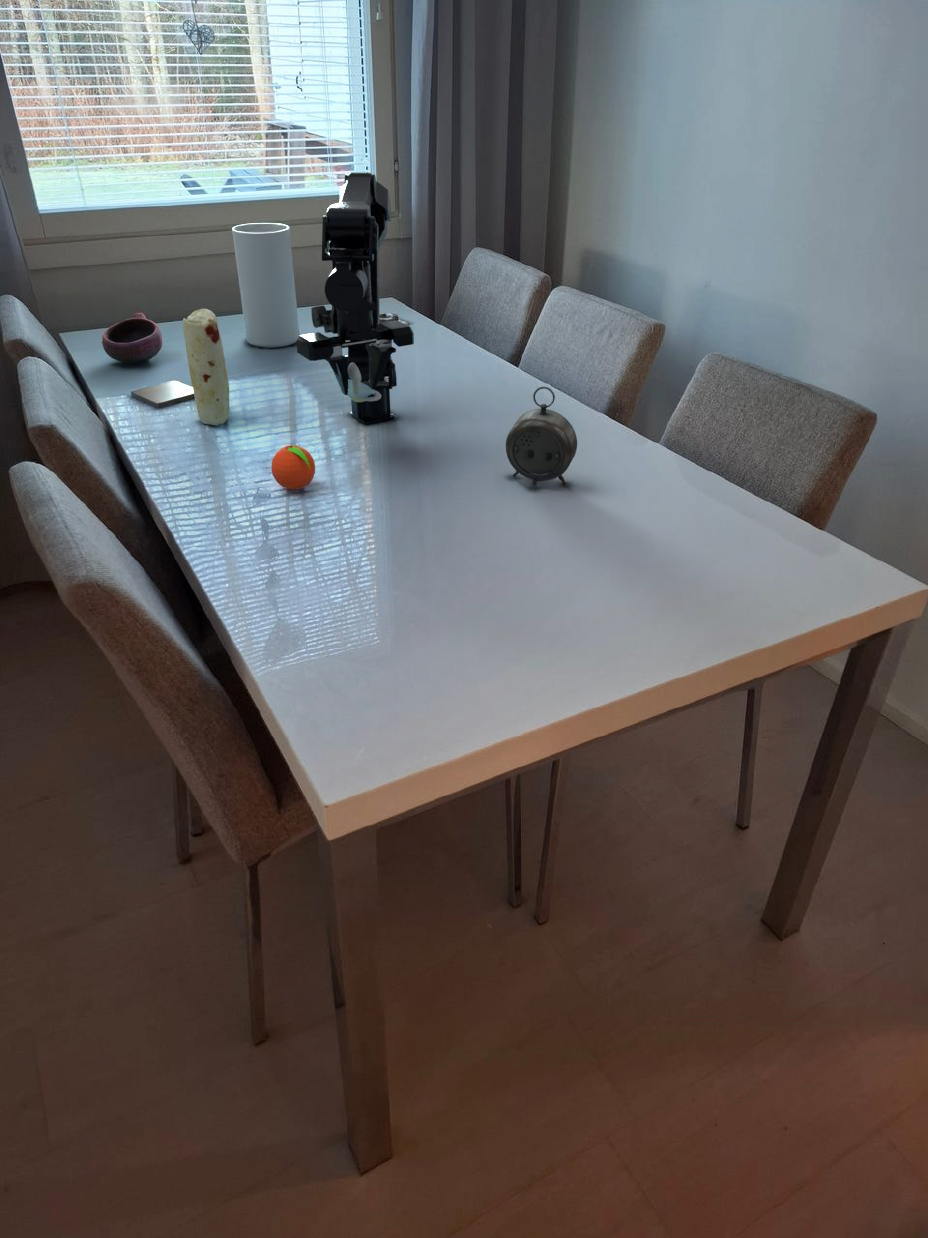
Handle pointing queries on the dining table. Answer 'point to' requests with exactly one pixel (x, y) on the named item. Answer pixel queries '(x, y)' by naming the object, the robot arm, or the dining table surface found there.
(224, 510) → the dining table surface
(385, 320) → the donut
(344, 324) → the robot arm
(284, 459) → the clementine
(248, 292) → the cylinder vase
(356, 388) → the pacifier
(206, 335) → the food model
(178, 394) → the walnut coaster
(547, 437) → the alarm clock
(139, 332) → the bowl
